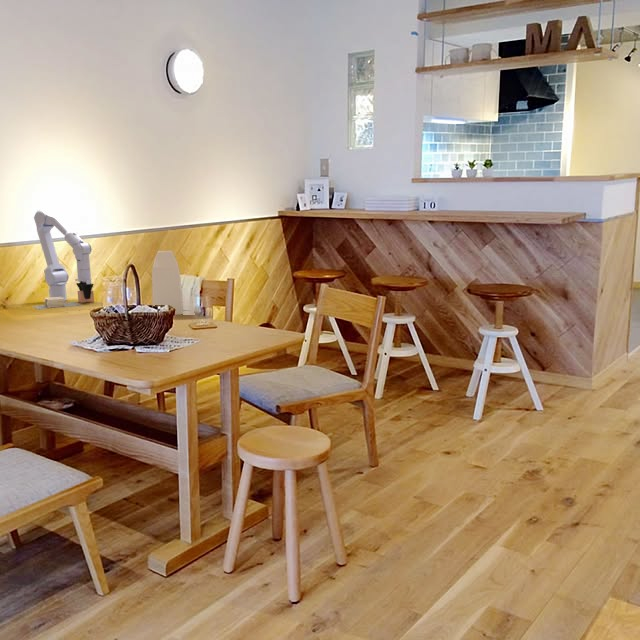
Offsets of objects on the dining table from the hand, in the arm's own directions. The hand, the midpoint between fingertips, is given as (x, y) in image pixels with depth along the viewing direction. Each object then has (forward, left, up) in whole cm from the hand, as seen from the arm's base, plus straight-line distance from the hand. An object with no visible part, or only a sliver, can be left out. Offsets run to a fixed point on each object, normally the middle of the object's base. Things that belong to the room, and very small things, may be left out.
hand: (85, 298), depth 340 cm
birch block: (+4, -15, -2) cm, 16 cm away
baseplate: (+4, -14, -3) cm, 15 cm away
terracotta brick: (0, 0, -2) cm, 2 cm away
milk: (+50, +21, -3) cm, 54 cm away
